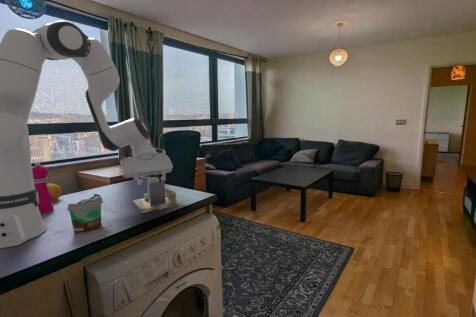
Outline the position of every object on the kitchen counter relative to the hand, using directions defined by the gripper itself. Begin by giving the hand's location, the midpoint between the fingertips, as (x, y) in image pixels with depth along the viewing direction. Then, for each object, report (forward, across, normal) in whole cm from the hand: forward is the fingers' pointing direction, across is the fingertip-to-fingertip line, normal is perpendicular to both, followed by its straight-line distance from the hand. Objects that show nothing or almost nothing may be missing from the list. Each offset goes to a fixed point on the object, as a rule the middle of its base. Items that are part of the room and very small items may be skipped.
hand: (152, 182), depth 111 cm
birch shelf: (+7, 0, +7) cm, 10 cm away
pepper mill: (-6, -38, +21) cm, 44 cm away
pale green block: (+6, 0, +5) cm, 8 cm away
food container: (+15, -24, -1) cm, 28 cm away
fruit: (-17, -36, +31) cm, 51 cm away
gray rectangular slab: (+9, 0, +2) cm, 10 cm away
